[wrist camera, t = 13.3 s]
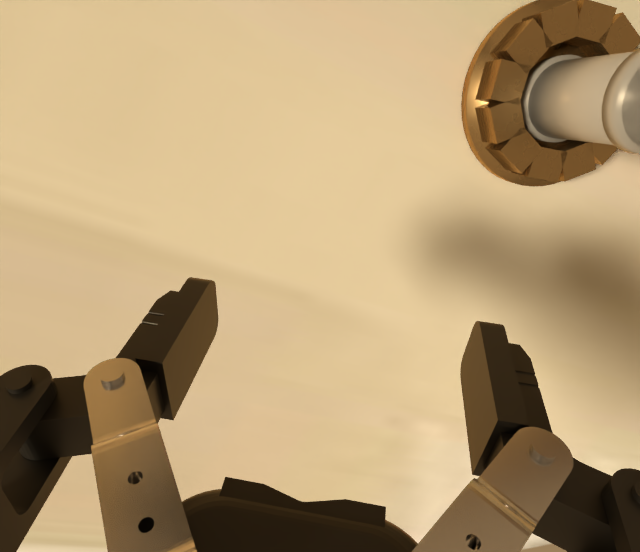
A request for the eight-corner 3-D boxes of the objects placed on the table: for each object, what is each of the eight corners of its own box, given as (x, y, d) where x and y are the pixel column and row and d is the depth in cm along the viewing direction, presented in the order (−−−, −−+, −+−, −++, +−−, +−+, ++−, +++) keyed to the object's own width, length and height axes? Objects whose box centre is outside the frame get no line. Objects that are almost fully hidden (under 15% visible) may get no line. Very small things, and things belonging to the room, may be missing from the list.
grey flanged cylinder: (530, 47, 30) (643, 28, 22) (600, 65, 31) (732, 52, 23) (505, 133, 32) (600, 145, 23) (572, 147, 33) (685, 163, 25)
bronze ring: (491, -23, 29) (528, -42, 25) (746, 49, 33) (809, 42, 30) (441, 170, 33) (467, 178, 29) (676, 212, 37) (725, 224, 33)
